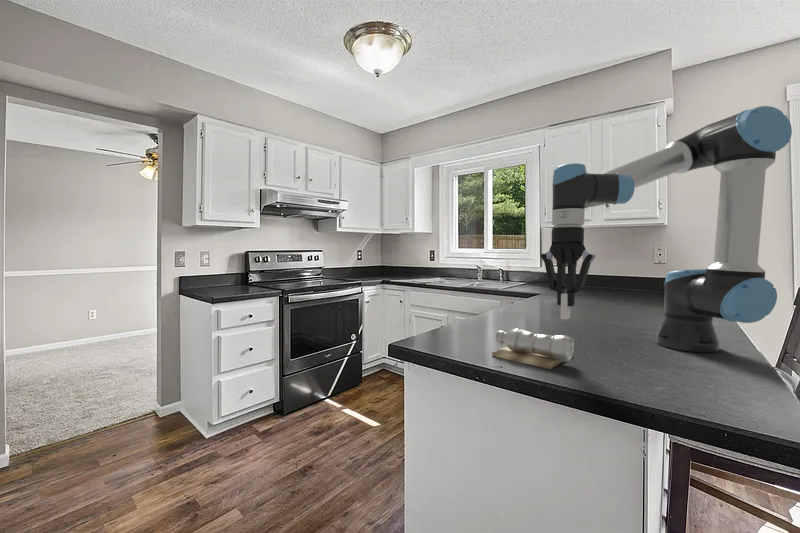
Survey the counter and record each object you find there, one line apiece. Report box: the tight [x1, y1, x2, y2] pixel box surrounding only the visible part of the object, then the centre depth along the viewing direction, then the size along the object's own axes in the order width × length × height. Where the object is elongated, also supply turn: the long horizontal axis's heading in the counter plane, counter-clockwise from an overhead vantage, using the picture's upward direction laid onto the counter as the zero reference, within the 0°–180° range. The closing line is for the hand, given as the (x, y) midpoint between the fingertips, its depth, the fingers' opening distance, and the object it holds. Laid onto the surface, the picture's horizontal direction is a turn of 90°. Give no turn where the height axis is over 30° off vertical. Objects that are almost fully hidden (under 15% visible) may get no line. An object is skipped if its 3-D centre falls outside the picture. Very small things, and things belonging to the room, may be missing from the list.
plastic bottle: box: [495, 328, 575, 362], centre depth 99 cm, size 6×7×20 cm
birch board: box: [491, 345, 565, 370], centre depth 102 cm, size 16×15×1 cm
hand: (565, 318), depth 96 cm, fingers closed
